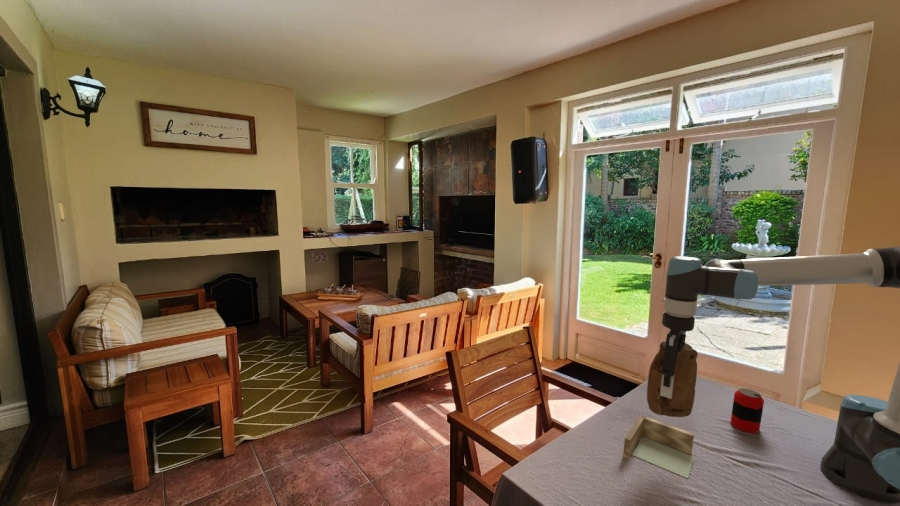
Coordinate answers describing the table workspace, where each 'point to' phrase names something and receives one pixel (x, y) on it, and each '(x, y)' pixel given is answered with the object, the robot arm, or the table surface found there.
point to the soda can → (747, 410)
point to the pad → (664, 457)
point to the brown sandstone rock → (681, 387)
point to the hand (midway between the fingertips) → (670, 388)
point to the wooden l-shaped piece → (657, 435)
